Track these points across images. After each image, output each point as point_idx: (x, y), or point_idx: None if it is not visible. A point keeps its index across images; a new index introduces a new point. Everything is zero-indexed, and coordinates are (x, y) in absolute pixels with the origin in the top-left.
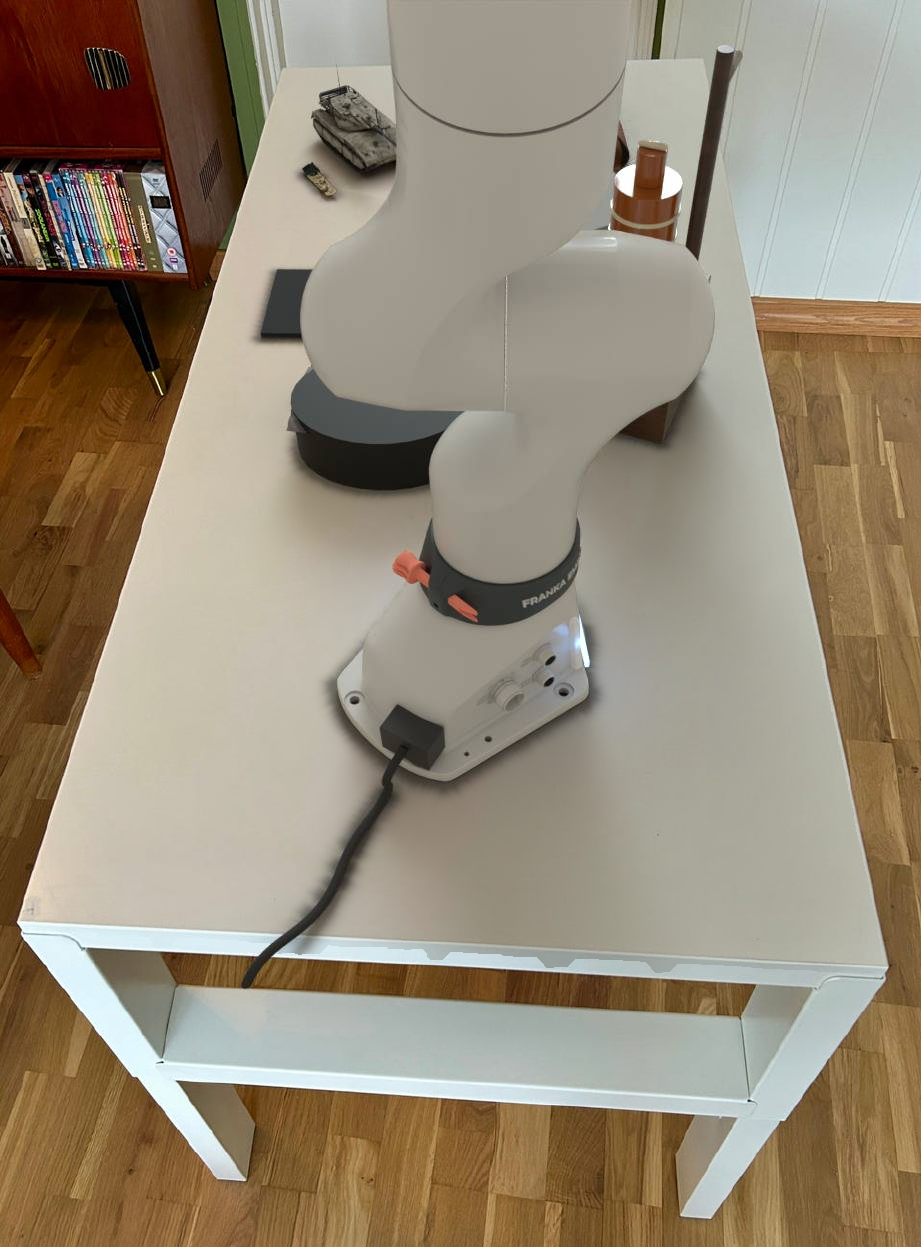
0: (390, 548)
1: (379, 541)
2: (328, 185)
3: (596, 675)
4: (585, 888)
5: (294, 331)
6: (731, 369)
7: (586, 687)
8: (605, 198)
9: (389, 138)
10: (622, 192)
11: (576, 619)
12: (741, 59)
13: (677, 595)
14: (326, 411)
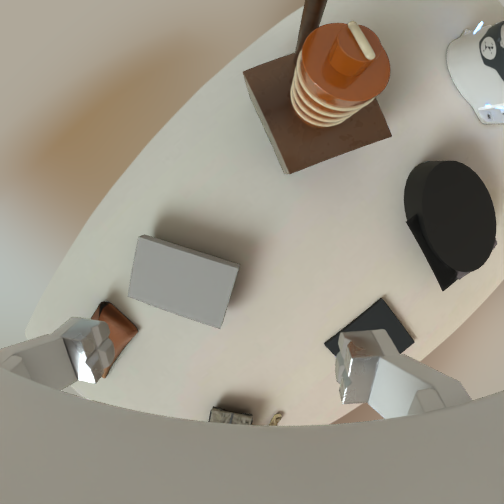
0: (483, 153)
1: (484, 161)
2: (272, 420)
3: (457, 31)
4: (496, 9)
5: (403, 331)
6: (228, 82)
7: (468, 29)
8: (155, 274)
9: (230, 422)
10: (389, 72)
11: (490, 25)
12: None
13: (402, 16)
14: (484, 235)
